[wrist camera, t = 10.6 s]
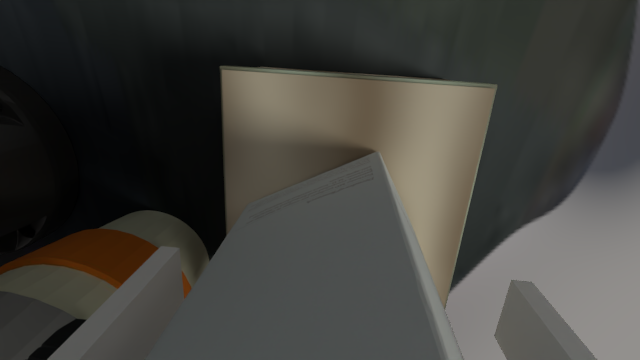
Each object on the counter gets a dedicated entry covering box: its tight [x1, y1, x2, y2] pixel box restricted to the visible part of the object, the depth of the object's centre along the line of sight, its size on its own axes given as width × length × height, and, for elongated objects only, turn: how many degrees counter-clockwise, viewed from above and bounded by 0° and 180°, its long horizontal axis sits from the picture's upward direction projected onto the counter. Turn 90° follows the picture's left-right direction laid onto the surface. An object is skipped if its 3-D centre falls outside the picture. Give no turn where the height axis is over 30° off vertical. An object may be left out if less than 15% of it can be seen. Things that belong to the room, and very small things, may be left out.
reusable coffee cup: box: [0, 210, 209, 360], centre depth 21 cm, size 13×13×15 cm
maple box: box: [220, 66, 497, 309], centre depth 21 cm, size 12×16×8 cm
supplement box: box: [144, 151, 464, 360], centre depth 11 cm, size 7×7×13 cm
